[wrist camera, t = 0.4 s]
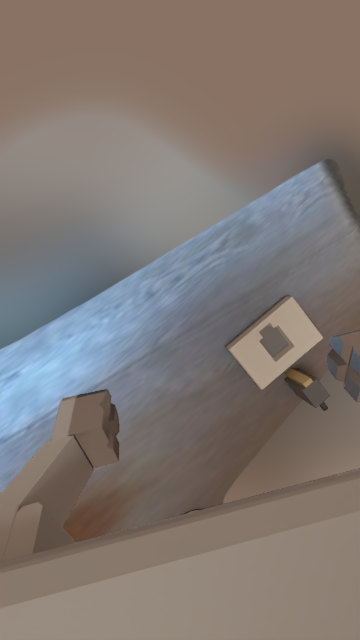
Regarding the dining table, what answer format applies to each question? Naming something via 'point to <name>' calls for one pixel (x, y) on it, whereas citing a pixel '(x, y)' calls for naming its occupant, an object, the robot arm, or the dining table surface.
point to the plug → (307, 388)
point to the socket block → (274, 341)
